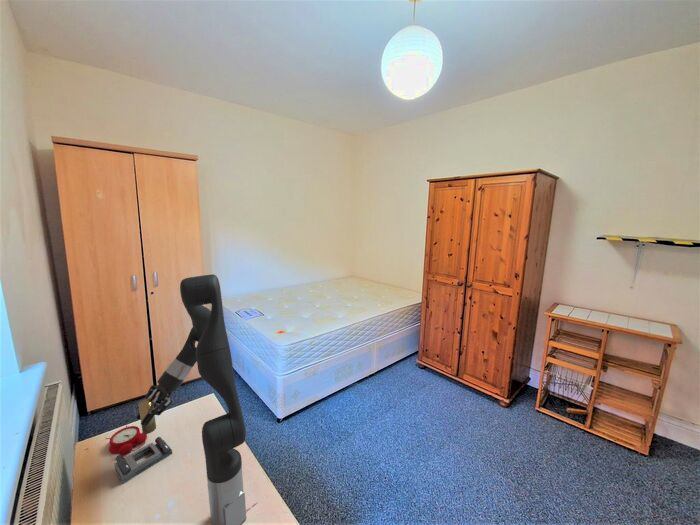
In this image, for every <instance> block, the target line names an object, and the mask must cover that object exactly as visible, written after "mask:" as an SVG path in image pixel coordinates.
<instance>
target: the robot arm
mask: <svg viewBox="0 0 700 525" xmlns="http://www.w3.org/2000/svg"><path fill="white" fill-rule="evenodd" d="M179 291H180V292H179V293H180V297H181V302H182V305H183V306H184V308H185V310H186V312H187V314H188V315H189V318H190V319H191V325H192V328H191V329H190V331H189V334H188V335H187V338H186V341H185V343H184V345H183V346H182V348H181V350H180V352H179V353H178V354H177V355H176V357H175V358H174V359H173V360H172V362H171V363H170V364H169V365H168V366H167V367H166V369H165V370H164V371H163V373H162V374H161V376H160V377H159V378H158V380H157V384H158V385H153V384H152V385H150V387H149V389H148V391H147V393H146V394H145V396H144V398H143V400H144V399H147V398H151V399H153V403H152V407H151V409H150V411H149V413H148V414H147V415H146V416H145V418H144V419H143V420H142V422H141V419H140V412H138V413H137V414H136V416H135V417H136V419H137V420H140V426H141V425H144V426H147V425H148V424H149V422H150V421H151V419H152V418H153V417H154V416H155V417H156V416H161V415H162V413H164V411H165V410H166V409H168V408H169V407H170V406H171V405H172V404H173V401H172V400H171V398H170V397H171V395H172V393H174V392H177V391H178V390H179V388H180V387H181V385H182V384H183V383H184V382H185V379H186V378H187V376H189V374H190V372H191V371H192V369H193V367H194V366H195V364H196V365H197V370H198V373H199V376H200V377H201V379H203V380H204V381H205V383H207V384H208V385H209V386H210V387H211V388H212V389H213V390H214V391H215V392H217V393H218V395H219V396H220V397H221V399H222V400H223V401H224V403H225V405H226V407H227V410H228V412H227V413H225V414H222V415H219V416H217V417H215V418H212V419H209V420H207V421H205V422H204V424H203V425H202V428H201V440H202V441H201V442H202V446H203V451H204V458H205V469H206V481H207V491H208V502H209V510H210V511H209V512H210V513H209V514H210V522H211V525H239V524H240V525H242V524H243V523H244V522H245V521H246V520H247V507H246V493H245V491H244V480H243V479H244V478H243V465H242V463H243V461H242V459H243V458H242V455H241V452H240V451H239V450H238V449H237V448H238V447H239V446H241V445H242V444H244V443H245V441H246V437H247V436H246V435H247V433H246V425H245V420H244V416H243V411H242V408H241V403H240V399H239V395H238V391H237V385H236V380H235V379H236V378H235V374H234V366H233V359H232V353H231V349H230V348H231V347H230V342H229V337H228V333H227V329H226V325H225V324H226V323H225V316H224V308H223V299H222V290H221V285H220V281H219V278H218V276H217V275H216V274H204V275H197V276H189V277H185V278H183V279H181V281H180V283H179ZM204 305H205V306H204ZM206 305H211V310H210V309H209V308H208V307H207V306H206ZM196 342H197V343H196ZM196 344H197V345H196ZM235 448H236V449H235ZM245 519H246V520H245ZM244 520H245V521H244ZM243 521H244V522H243ZM242 522H243V523H242Z"/></svg>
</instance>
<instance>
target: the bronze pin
mask: <svg viewBox="0 0 700 525" xmlns="http://www.w3.org/2000/svg"><path fill="white" fill-rule="evenodd" d="M152 403H153V399H151V398H147V399H144V398H143V399H142V400H141V401H139V402H138V404H137V406H138V411H139V412H140V419H141V420H140V419H139V420H140V423H141V422H142V420H143V419H144V418H145V416H146V415H147V414H148V413H149V411H150V409H151V407H152ZM139 412H138V413H139ZM140 426H141V431H142V432H143V434H148V435H149V434H151V433H153V432H155V431H156V429H157V423H156V415H155V416H154V417H153V418H152V419H151V421H150V422H149V424H148V425H147V426H144V425H141V424H140ZM142 432H141V433H142Z"/></svg>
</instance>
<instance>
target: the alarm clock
mask: <svg viewBox="0 0 700 525" xmlns="http://www.w3.org/2000/svg"><path fill="white" fill-rule="evenodd" d="M147 438H148V435H147V434H143V432H141V430H140V428H139V426H135V425H130V426H128V425H125V427H124V428H121V429H118V431H116V432H115V433H114V434H112V435H111V436H110V437H109V438H108V437H106V438H105V440H109V447H108V452H109V453H110V454H112V455H120V454H122V455H123V457H126V456H128V455H130V454H131V452H136V451H138V450H139V449H141V448H142V447H144V445H145V443H146V440H147ZM137 446H139V447H138V448H136V447H137ZM135 448H136V449H135ZM133 449H134V450H133Z"/></svg>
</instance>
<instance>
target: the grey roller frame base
mask: <svg viewBox="0 0 700 525" xmlns="http://www.w3.org/2000/svg"><path fill="white" fill-rule="evenodd" d="M154 443H155V444H154ZM154 443H153V442H150V443H148V444H146V445H145V446H142V447H140V448H139V449H137V450H135V451H133V452H132V453H129V454H128V455H126V456H123V455H122V454H120V455H119V454H117V456H116V457H115V461H116V462H115V463H113V465H114V471H115V473H116V475H117V476H118V479H119V480H120V482H121V484H125V483H126V482H128V481H130V480H131V479H133V478H135V477H136V476H138V475H140V474H141V473H143V472H145V471H146V470H148V469H150V468H151V467H153V466H154V465H156V464H158V463H159V462H161V461H163V460H164V459H166V458H168V457H169V456H171V455H172V454H173V449H172V448H171V447H170V445H169V444H167V442H166V441H165V440H164V439H162V437H161V436H158V437H156V438H155V441H154ZM149 454H151V456H150V457H148V458H146V459H144V460H143V461H141V462H139V463H137V461H139V460H141V459H143V458H144V457H146V456H148V455H149Z"/></svg>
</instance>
